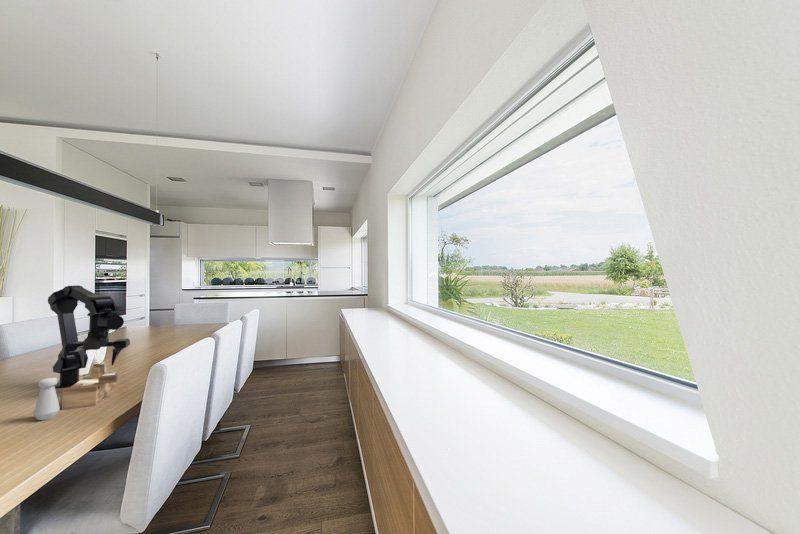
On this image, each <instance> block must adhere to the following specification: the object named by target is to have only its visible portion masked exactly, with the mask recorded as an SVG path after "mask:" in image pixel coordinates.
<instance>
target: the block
mask: <svg viewBox="0 0 800 534" xmlns="http://www.w3.org/2000/svg"><path fill="white" fill-rule="evenodd" d="M118 379H119V374H118V373H117V374H116V375H106V376H100V377H99V380H98V384H106V383H116V382H118Z"/></svg>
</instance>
